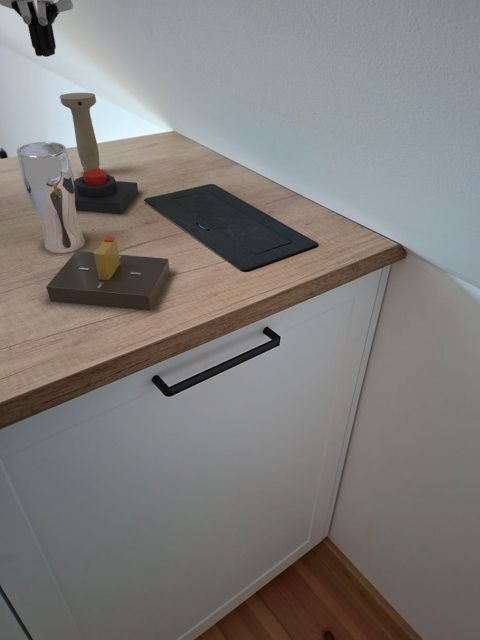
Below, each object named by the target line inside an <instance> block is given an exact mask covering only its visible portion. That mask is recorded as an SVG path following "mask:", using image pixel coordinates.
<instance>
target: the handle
mask: <svg viewBox="0 0 480 640" xmlns="http://www.w3.org/2000/svg"><path fill="white" fill-rule="evenodd" d="M59 99H60V103H61V105H62V106H64V107H65V108H67V109H69V110H70V113H71V117H72V122H73V128H74V136H75V143H76V149H77V153H78V157H79V161H80V163H81V166H82V169H83V173H84V172H85V171H88V170H93V169H99V170H101V168H100V165H101V164H100V152H99V147H98V140H97V138H96V134H95V133H96V132H95V130H94V126H93V120H92V116H91V110H90V108H92V107H93V106H94V105H96V103H97V99H96V94H95V93H93V92H69V93H64V94H63V93H62V94H60V95H59Z"/></svg>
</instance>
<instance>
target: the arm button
mask: <svg viewBox="0 0 480 640" xmlns="http://www.w3.org/2000/svg"><path fill="white" fill-rule="evenodd" d="M106 174H107V173H106V171H105V170H103V169H100V170H99V169H93V170H88V171H85V172H84V171H83V173H82V177H83V178H84V183H85V184H86V185H94V186H95V185H102V184H105V183H107V178H106Z"/></svg>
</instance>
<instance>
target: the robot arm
mask: <svg viewBox="0 0 480 640" xmlns="http://www.w3.org/2000/svg"><path fill="white" fill-rule="evenodd" d="M0 5H1V7H2V6H3V7H6V8H9V9H11V10H13V11H15V12H16V14H18V16H20V17H21V19H22V21H23V23H24V24H25V25H27V28H28V32H29V37H30V42H31V46H32V48H33V49H34V53H35V56H36V57H45V58H48V57H51V56H54V55H55V54H56V48H57V45H56V44H57V43H56V38H55V33H54V28H53V24H55V21H56V18H58V15H60V13H64V12H67V11H72V10H73V9H74V4H73V1H72V0H58V1H56V2H55V0H36V3H35V0H0Z"/></svg>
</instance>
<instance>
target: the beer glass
mask: <svg viewBox="0 0 480 640" xmlns="http://www.w3.org/2000/svg"><path fill="white" fill-rule="evenodd" d="M16 155H17V159H18V165H19V169H20V173H21V174H20V175H21V178H22V181H23V185H24V188H25V191H26V194H27V195H28V198H29V200H30V203H31V205H32V207H33V209H34V211H35V213H36V215H37V217H38V219H39V221H40V224H41V227H42V231H43V243H44V247H45V250H47V251H48V252H51V253H55V254H64V253H71V252H76V251H78V250H79V249H81V248H82V247H83V246H84V245H85V243H86V241H85V238H84V235H83V233H82V231H81V228H80V226H79V222H78V217H77V216H78V215H77V211H76V191H75V182H74V181H75V177H74V173H73V169H72V165H71V162H70V159H69V155H68V151H67V148H66V145H64V144H62V143H59V142H54V141H37V142H30V143H28V144H27V143H26V144H23V145H21V146H20V147H18V148H17V149H16Z"/></svg>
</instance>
